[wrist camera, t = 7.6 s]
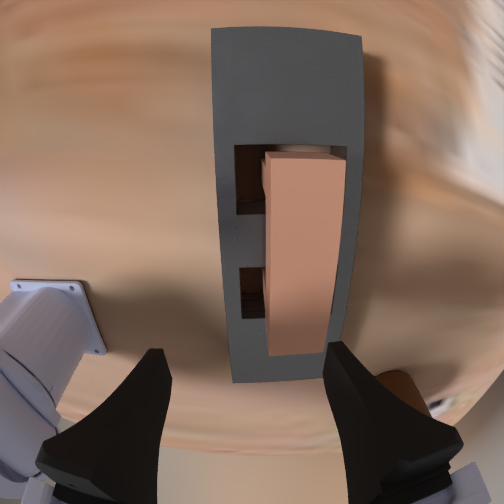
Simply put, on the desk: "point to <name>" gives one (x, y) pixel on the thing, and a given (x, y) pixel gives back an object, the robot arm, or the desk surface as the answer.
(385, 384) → the mug
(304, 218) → the tan tabbed block
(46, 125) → the desk surface
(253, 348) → the grey slotted tapered plate
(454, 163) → the desk surface
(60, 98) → the desk surface
